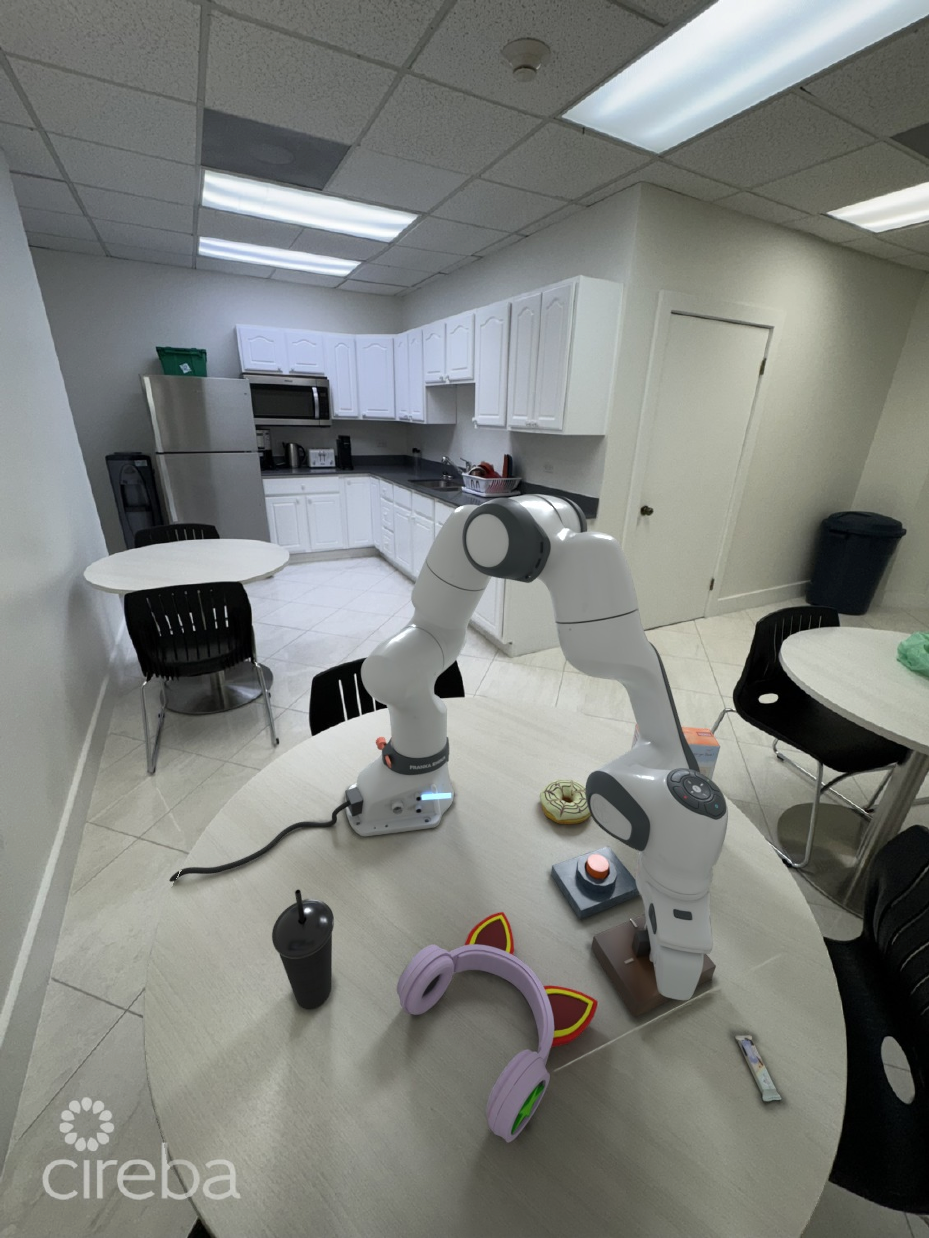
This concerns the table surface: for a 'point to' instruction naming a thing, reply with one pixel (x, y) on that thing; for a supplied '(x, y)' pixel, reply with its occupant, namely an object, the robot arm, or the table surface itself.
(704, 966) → the panel
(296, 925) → the drinking cup
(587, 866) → the button
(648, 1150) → the table surface
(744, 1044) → the granola bar
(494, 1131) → the headphones
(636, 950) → the handle
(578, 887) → the button box
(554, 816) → the decorated donut
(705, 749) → the cracker box
